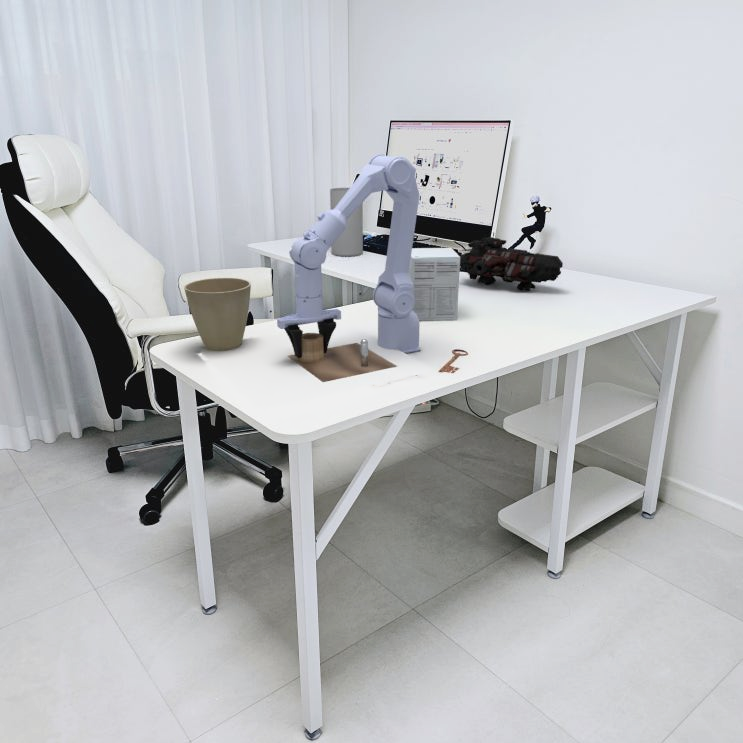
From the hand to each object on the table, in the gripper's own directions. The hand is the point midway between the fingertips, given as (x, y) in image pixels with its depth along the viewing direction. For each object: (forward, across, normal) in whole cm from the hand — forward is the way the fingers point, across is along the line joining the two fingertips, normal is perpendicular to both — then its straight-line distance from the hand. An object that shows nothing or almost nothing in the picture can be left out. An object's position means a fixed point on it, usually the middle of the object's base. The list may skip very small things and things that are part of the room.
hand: (310, 354), depth 147 cm
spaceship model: (+3, -86, -31) cm, 91 cm away
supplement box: (+3, -46, -19) cm, 50 cm away
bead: (+1, 0, 0) cm, 1 cm away
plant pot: (+3, +14, -19) cm, 24 cm away
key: (+3, -29, +15) cm, 33 cm away
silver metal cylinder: (+1, -8, +10) cm, 13 cm away
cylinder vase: (+3, -66, -105) cm, 124 cm away
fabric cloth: (+2, -5, +5) cm, 7 cm away
